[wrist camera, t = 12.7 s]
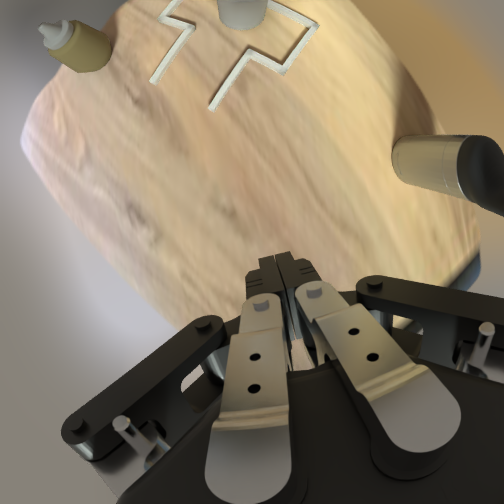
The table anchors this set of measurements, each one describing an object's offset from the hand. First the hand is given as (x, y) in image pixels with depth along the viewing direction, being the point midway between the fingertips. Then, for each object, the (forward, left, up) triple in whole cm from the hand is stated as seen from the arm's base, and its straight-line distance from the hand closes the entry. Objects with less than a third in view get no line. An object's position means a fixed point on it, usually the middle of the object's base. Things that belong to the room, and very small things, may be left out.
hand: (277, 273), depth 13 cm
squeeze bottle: (+20, -32, -32) cm, 50 cm away
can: (-6, -31, -32) cm, 45 cm away
